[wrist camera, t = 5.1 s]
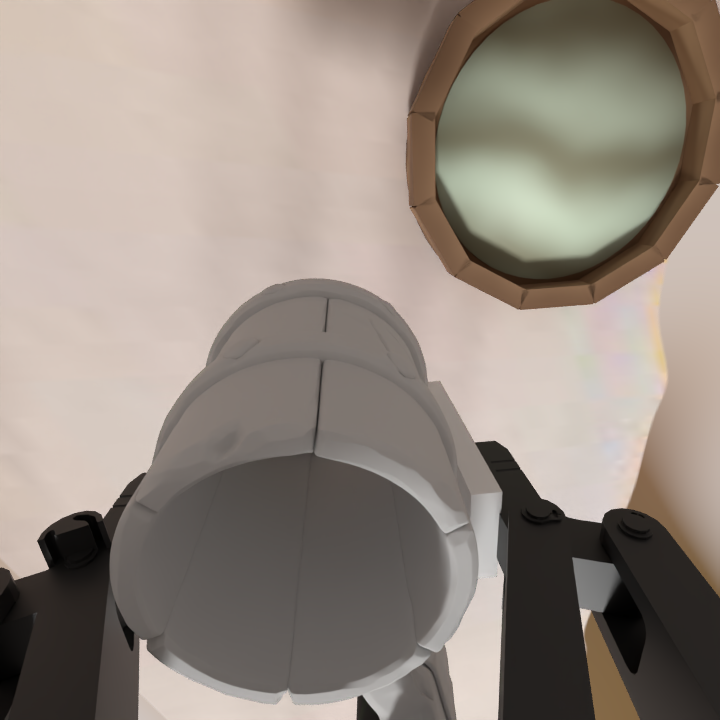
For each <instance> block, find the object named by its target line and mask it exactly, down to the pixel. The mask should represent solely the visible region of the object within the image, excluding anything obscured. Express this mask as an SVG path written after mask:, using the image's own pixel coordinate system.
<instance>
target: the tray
mask: <svg viewBox="0 0 720 720" xmlns="http://www.w3.org/2000/svg"><path fill="white" fill-rule="evenodd" d="M408 116H409V117H408V118H407V143H406V173H407V184H408V190H409V206H412V207H410V209H411V211H412V212H413V214H414V216H415V217H416V219H417V221H418V224H419V226H420V228H421V230H422V232H423V234H424V236H425V238H426V240H427V241H428V243H429V244H430V245H431V247H432V248H433V250H434V251H435V253H436V254H437V255H438V256H439V258H440V260H441V262H442V263H443V265H444V267H445V268H446V270H447V272H449V273H450V274H451V275H453V276H454V277H456V278H458V279H460V280H462V281H464V282H466V283H467V284H469V285H471V286H473V287H475V288H477V289H479V290H481V291H483V292H485V293H487V294H489V295H491V296H493V297H495V298H497V299H499V300H501V301H503V302H505V303H507V304H509V305H511V306H513V307H515V308H517V309H520V310H525V309H537V308H550V307H563V306H575V305H588V304H593V303H597V302H598V301H600V300H602V299H603V298H605V297H606V296H608V295H610V294H611V293H613V292H615V291H616V290H618V289H620V288H621V287H623V286H625V285H626V284H628V283H629V282H631V281H633V280H634V279H636V278H638V277H639V276H641V275H643V274H644V273H646V272H648V271H649V270H651V269H652V268H654V267H656V266H657V265H659V264H661V263H662V262H664V259H667V258H668V256H669V255H670V254H671V252H672V251H673V249H674V248H675V247H676V245H677V244H678V242H679V241H680V240H681V238H682V237H683V235H684V234H685V233H686V231H687V230H688V228H689V227H690V226H691V224H692V222H693V221H694V220H695V218H696V217H697V216H698V214H699V213H700V211H701V210H702V209H703V207H704V206H705V204H706V203H707V202H708V200H709V199H710V197H711V196H712V195H713V193H714V191H715V190H716V189H717V188H718V186H717V185H716V184H719V183H720V15H719V11H718V8H717V4H716V1H715V0H712V1H711V0H474V1H473V2H471V3H470V4H469V5H468V6H466V7H465V8H464V9H462V10H461V11H460V12H459V13H458V14H457V15H456V17H455V18H454V20H453V21H452V23H451V24H450V26H449V28H448V30H447V32H446V34H445V36H444V38H443V41H442V43H441V45H440V47H439V49H438V51H437V53H436V56H435V58H434V60H433V62H432V64H431V66H430V67H429V69H428V71H427V73H426V75H425V77H424V79H423V82H422V84H421V87H420V89H419V92H418V94H417V96H416V99H415V101H414V103H413V105H412V107H411V109H410V112H409V114H408Z"/></svg>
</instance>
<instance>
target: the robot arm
mask: <svg viewBox="0 0 720 720" xmlns="http://www.w3.org/2000/svg"><path fill="white" fill-rule="evenodd" d="M428 389H429V390H430V392H431V393H432V394H433V396H434V398H435V399H436V401H437V403H438V404H439V406H440V408H441V410H442V412H443V414H444V416H445V419H446V421H447V423H448V425H449V428H450V431H451V433H452V437H453V440H454V444H455V449H456V455H457V476H458V487H459V490H460V492H461V495H462V498H463V501H464V504H465V507H466V509H467V512H468V515H469V518H470V521H471V524H472V527H473V530H474V533H475V537H476V542H477V548H478V559H479V568H478V579H480V578H490V577H497V568H498V562H499V564H500V566H501V569H502V571H503V573H504V585H503V598H502V634H501V660H500V686H499V712H498V720H595V714H594V707H593V700H592V693H591V686H590V679H589V672H588V665H587V658H586V651H585V644H584V637H583V630H582V623H581V615H580V608H582V609H587V610H591V611H592V613H593V615H594V618H595V620H596V622H597V624H598V627H599V629H600V631H601V633H602V635H603V638H604V640H605V642H606V644H607V646H608V649H609V651H610V653H611V656H612V658H613V660H614V662H615V664H616V667H617V669H618V671H619V673H620V676H621V678H622V680H623V682H624V684H625V686H626V689H627V691H628V693H629V695H630V698H631V700H632V702H633V705H634V707H635V709H636V711H637V713H638V716H639V718H640V720H720V598H719V596H718V595H717V594H716V593H715V591H714V590H713V589H712V587H711V586H710V585H709V584H708V582H707V581H706V580H705V578H704V577H703V576H702V575H701V573H700V572H699V571H698V569H697V568H696V567H695V566H694V564H693V563H692V562H691V560H690V559H689V558H688V557H687V555H686V554H685V553H684V551H683V550H682V549H681V548H680V546H679V545H678V544H677V542H676V541H675V540H674V539H673V537H672V536H671V535H670V533H669V532H668V531H667V530H666V528H665V527H664V526H662V525H661V524H660V523H659V522H658V521H657V520H655V519H654V518H652V517H650V516H648V515H647V514H644V513H641V512H638V511H635V510H631V509H623V508H620V509H612V510H610V511H608V512H607V513H605V515H604V517H603V520H602V523H597V522H590V521H583V520H577V519H572V518H568V517H566V516H565V514H564V512H563V511H562V510H561V509H560V508H559V507H558V506H557V505H555V504H553V503H551V502H549V501H548V500H544V499H541V498H540V496H539V495H538V493H537V492H536V490H535V489H534V488H533V486H532V485H531V483H530V482H529V480H528V479H527V477H526V476H525V474H524V473H523V471H522V470H520V467H519V465H518V464H517V462H516V461H515V460H514V458H513V457H512V455H511V454H510V452H509V451H508V449H506V448H505V447H504V446H502V445H501V444H499V443H498V442H496V441H488V442H476V443H475V442H474V441H473V439H472V437H471V435H470V433H469V432H468V430H467V428H466V426H465V425H464V423H463V421H462V419H461V417H460V416H459V414H458V412H457V410H456V409H455V407H454V405H453V403H452V401H451V400H450V398H449V396H448V394H447V393H446V391H445V389H444V387H443V385H442V384H441V382H440V381H435V382H428ZM145 475H146V473H142V474H140V475H139V476H138V477H137V478H135V479H134V480H133V481H131V482H130V483H129V484H128V485H127V486H126V488H125V489H124V491H123V492H122V493H121V495H120V498H118V499H117V500H116V502H115V503H114V505H113V508H111V509H110V510H109V512H108V513H107V514H106V516H105V517H104V519H103V518H102V515H101V514H99V513H98V512H96V511H83V512H78V513H74V514H72V515H69V516H66V517H64V518H62V519H60V520H58V521H57V522H55V523H53V524H52V525H50V526H49V527H48V528H47V529H46V530H45V531H44V532H43V533H42V534H41V536H40V537H39V539H38V540H37V542H38V544H39V546H40V549H41V551H42V553H43V555H44V558H45V560H46V562H47V565H48V567H49V570H46V571H43V572H40V573H37V574H34V575H31V576H28V577H24V578H21V579H18V580H15V581H14V579H13V577H12V575H11V573H10V571H9V570H7V569H4V568H0V720H138V692H139V637H138V636H137V634H136V633H135V632H134V631H132V630H131V629H130V628H129V627H128V625H127V624H126V622H125V620H124V618H123V616H122V614H121V612H120V610H119V608H118V606H117V604H116V601H115V598H114V595H113V591H112V586H111V580H110V552H111V546H112V541H113V537H114V534H115V530H116V528H117V525H118V522H119V520H120V518H121V515H122V513H123V511H124V509H125V507H126V506H127V504H128V502H129V501H130V499H131V497H132V496H133V494H134V493H135V491H136V489H137V488H138V486H139V485H140V483H141V481H142V480H143V478H144V477H145Z"/></svg>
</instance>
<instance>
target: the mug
mask: <svg viewBox="0 0 720 720" xmlns="http://www.w3.org/2000/svg"><path fill="white" fill-rule="evenodd" d="M478 568H479V559H478V548H477V542H476V537H475V533H474V530H473V527H472V524H471V521H470V518H469V515H468V512H467V509H466V507H465V504H464V501H463V498H462V495H461V492H460V490H459V487H458V476H457V455H456V449H455V444H454V440H453V437H452V433H451V431H450V428H449V425H448V423H447V421H446V419H445V416H444V414H443V412H442V410H441V408H440V406H439V404H438V403H437V401H436V399H435V398H434V396H433V394H432V393H431V392H430V390H429V389H428V380H427V372H426V365H425V361H424V357H423V354H422V351H421V348H420V345H419V343H418V341H417V339H416V337H415V336H414V334H413V332H412V331H411V329H410V328H409V326H408V325H407V323H406V322H405V321H404V319H403V318H402V317H401V316H400V315H399V314H398V313H397V312H396V310H395V309H394V307H393V306H392V305H391V304H390V303H388V302H386V301H384V300H382V299H381V298H379V297H378V296H376V295H375V294H373V293H371V292H369V291H367V290H365V289H363V288H360V287H358V286H355V285H352V284H349V283H345V282H342V281H337V280H330V279H300V280H294V281H289V282H285V283H282V284H275V285H272V286H270V287H268V288H266V289H265V290H263V291H262V292H260V293H259V294H257V295H255V296H254V297H252V298H251V299H249V300H248V301H247V302H245V303H244V304H242V305H241V306H240V307H239V308H238V309H237V310H236V311H235V312H234V313H233V314H232V316H231V317H230V318H229V319H228V320H227V321H226V323H225V324H224V325H223V327H222V328H221V330H220V331H219V333H218V335H217V337H216V338H215V340H214V342H213V345H212V347H211V349H210V352H209V355H208V359H207V363H206V367H205V368H204V369H203V370H202V371H201V372H200V373H199V374H198V375H197V376H196V377H195V378H194V379H193V380H192V381H191V383H190V384H189V385H188V386H187V387H186V389H185V390H184V391H183V393H182V394H181V395H180V396H179V398H178V399H177V401H176V402H175V404H174V405H173V407H172V409H171V410H170V412H169V413H168V415H167V417H166V419H165V421H164V423H163V426H162V428H161V431H160V434H159V437H158V441H157V445H156V449H155V453H154V457H153V461H152V465H151V467H150V469H149V470H148V472H147V473H146V475H145V477H144V478H143V480H142V481H141V483H140V485H139V486H138V488H137V489H136V491H135V493H134V494H133V496H132V497H131V499H130V501H129V502H128V504H127V506H126V507H125V509H124V511H123V513H122V515H121V518H120V520H119V522H118V525H117V528H116V530H115V534H114V537H113V541H112V546H111V552H110V580H111V586H112V591H113V595H114V598H115V601H116V604H117V606H118V608H119V610H120V612H121V614H122V616H123V618H124V620H125V622H126V624H127V625H128V627H129V628H130V629H131V630H132V631H134V632H135V633H136V634H137V636H138V637H139V638H141V639H142V640H147V650H148V651H149V652H150V653H151V654H152V655H153V656H154V657H155V658H157V659H158V660H159V661H160V662H162V663H163V664H165V665H166V666H167V667H169V668H170V669H172V670H174V671H175V672H177V673H179V674H181V675H183V676H184V677H186V678H188V679H190V680H192V681H194V682H197V683H199V684H202V685H204V686H206V687H209V688H211V689H214V690H216V691H218V692H220V693H223V694H225V695H228V696H232V697H236V698H241V699H246V700H250V701H254V702H259V703H264V704H277V703H278V702H279V701H280V700H281V698H282V696H283V695H284V694H285V693H286V692H287V690H288V692H289V695H290V697H291V699H292V701H293V703H294V704H295V705H320V704H328V703H333V702H338V701H343V700H347V699H351V698H354V697H358V696H360V695H363V697H364V698H365V700H366V701H367V702H368V704H369V705H370V706H371V707H372V708H373V709H374V711H375V712H376V713H377V714H378V716H379V719H380V720H456V712H455V705H454V696H453V685H452V681H451V678H450V675H449V666H448V658H447V652H446V648H445V645H444V644H445V643H446V642H447V641H448V640H449V639H450V638H451V637H452V636H453V634H454V633H455V631H456V630H457V628H458V627H459V625H460V622H461V619H462V617H463V615H464V613H465V611H466V610H467V608H468V606H469V604H470V602H471V600H472V598H473V596H474V593H475V590H476V586H477V580H478Z"/></svg>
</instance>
